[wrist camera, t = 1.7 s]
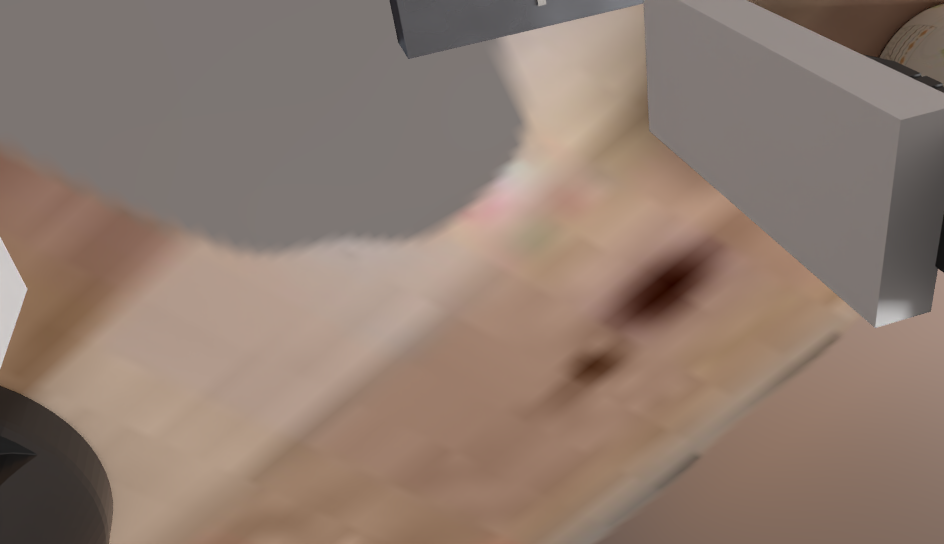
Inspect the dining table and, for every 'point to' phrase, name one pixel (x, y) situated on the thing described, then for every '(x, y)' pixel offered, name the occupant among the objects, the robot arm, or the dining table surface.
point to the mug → (920, 44)
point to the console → (483, 19)
